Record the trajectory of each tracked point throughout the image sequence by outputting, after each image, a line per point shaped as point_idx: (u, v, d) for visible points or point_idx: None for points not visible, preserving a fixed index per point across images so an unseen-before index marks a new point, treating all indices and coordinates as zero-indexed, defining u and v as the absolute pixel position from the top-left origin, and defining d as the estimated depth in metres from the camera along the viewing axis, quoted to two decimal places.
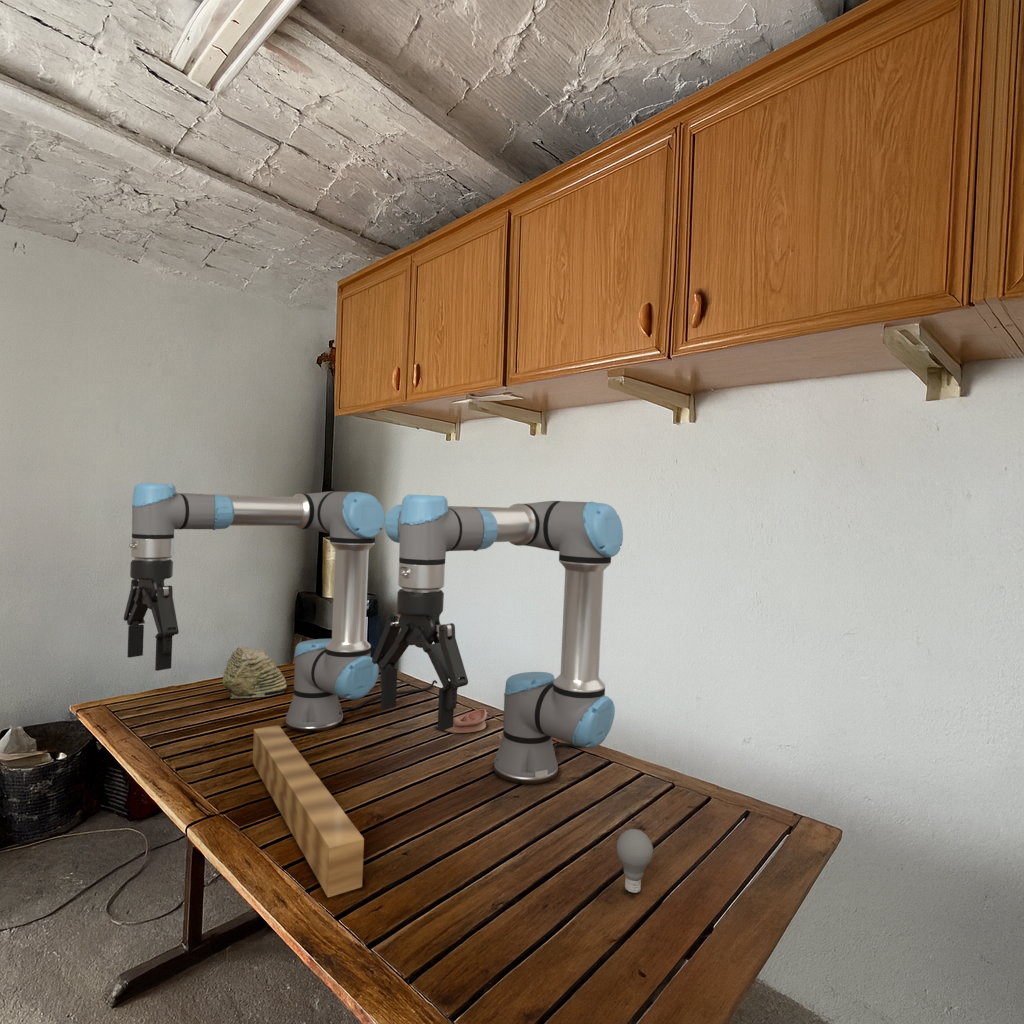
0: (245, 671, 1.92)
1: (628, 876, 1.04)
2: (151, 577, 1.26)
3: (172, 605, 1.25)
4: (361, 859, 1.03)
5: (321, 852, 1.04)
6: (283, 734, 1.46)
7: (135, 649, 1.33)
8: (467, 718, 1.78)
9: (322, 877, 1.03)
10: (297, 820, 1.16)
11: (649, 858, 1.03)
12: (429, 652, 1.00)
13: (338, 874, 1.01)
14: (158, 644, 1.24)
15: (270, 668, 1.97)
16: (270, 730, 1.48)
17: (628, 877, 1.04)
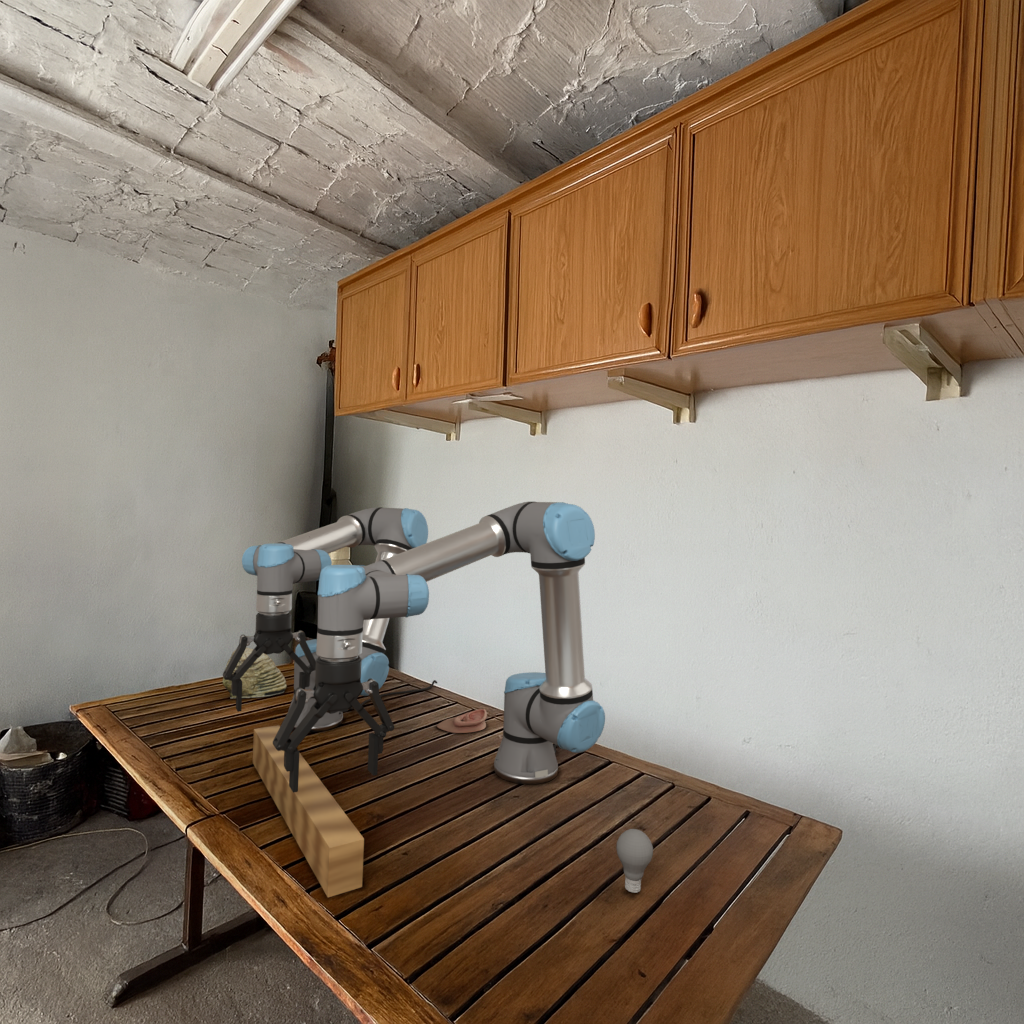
0: None
1: (628, 876, 1.04)
2: (290, 626, 1.44)
3: None
4: (361, 859, 1.03)
5: (321, 852, 1.04)
6: None
7: None
8: (467, 718, 1.78)
9: (322, 877, 1.03)
10: (297, 820, 1.16)
11: (649, 858, 1.03)
12: (361, 710, 1.09)
13: (338, 874, 1.01)
14: (305, 680, 1.46)
15: (270, 668, 1.97)
16: (270, 730, 1.48)
17: (628, 877, 1.04)
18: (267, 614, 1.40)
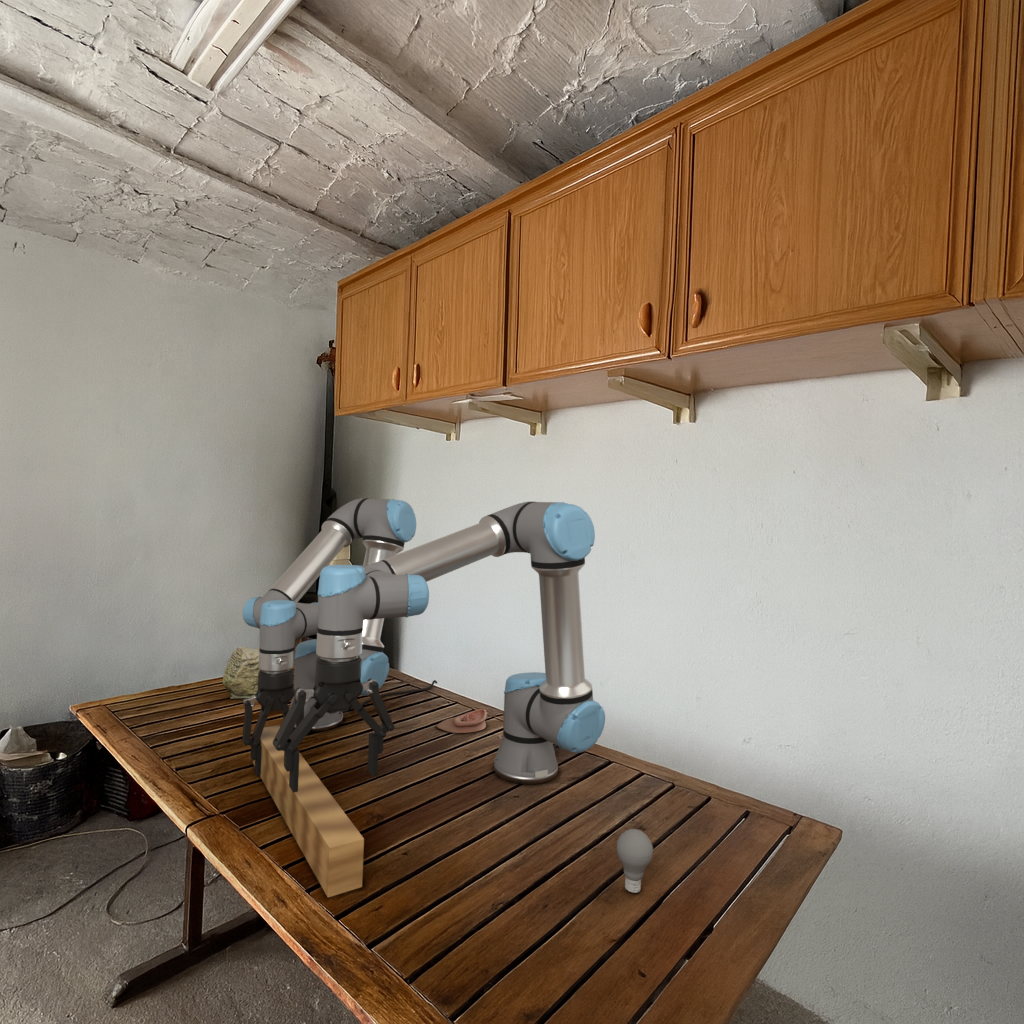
0: (245, 671, 1.92)
1: (628, 876, 1.04)
2: (292, 683, 1.45)
3: None
4: (361, 859, 1.03)
5: (321, 852, 1.04)
6: None
7: None
8: (467, 718, 1.78)
9: (322, 877, 1.03)
10: (297, 820, 1.16)
11: (649, 858, 1.03)
12: (361, 710, 1.09)
13: (338, 874, 1.01)
14: None
15: None
16: (270, 730, 1.48)
17: (628, 877, 1.04)
18: (270, 672, 1.41)
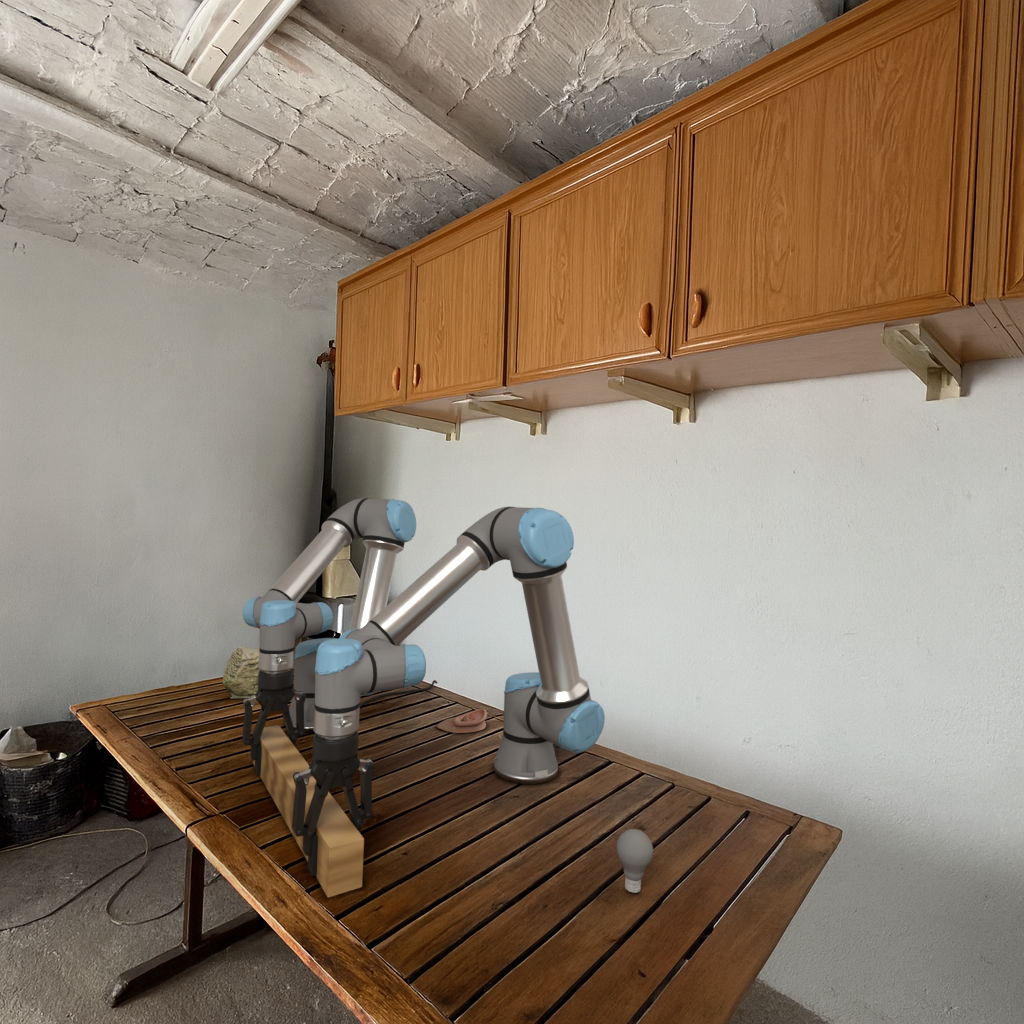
0: (245, 671, 1.92)
1: (628, 876, 1.04)
2: (292, 683, 1.45)
3: None
4: (361, 859, 1.03)
5: (321, 852, 1.04)
6: (283, 734, 1.46)
7: None
8: (467, 718, 1.78)
9: (322, 877, 1.03)
10: None
11: (649, 858, 1.03)
12: (350, 791, 1.08)
13: (338, 874, 1.01)
14: None
15: None
16: (270, 730, 1.48)
17: (628, 877, 1.04)
18: (270, 672, 1.41)
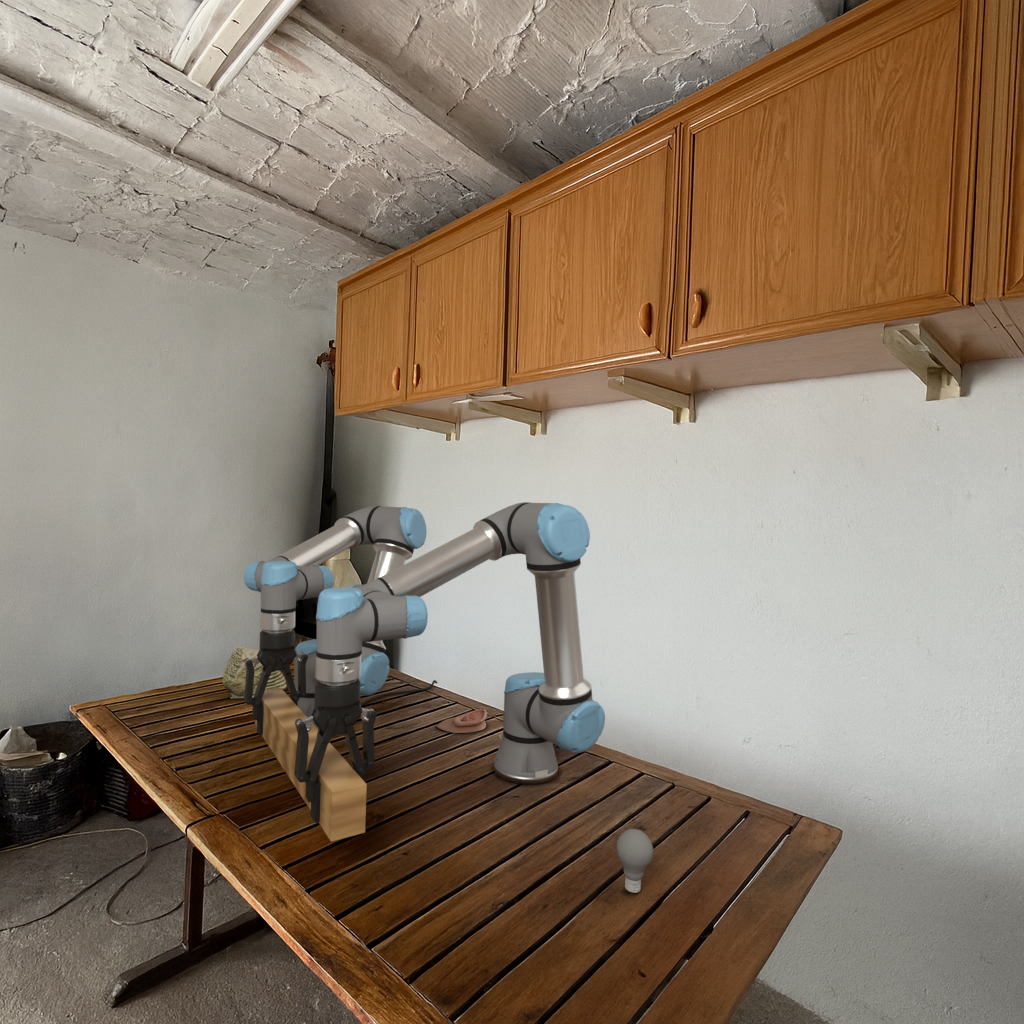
0: (245, 671, 1.92)
1: (628, 876, 1.04)
2: (294, 644, 1.44)
3: None
4: (364, 804, 1.03)
5: (323, 798, 1.04)
6: (285, 695, 1.46)
7: None
8: (467, 718, 1.78)
9: (325, 822, 1.03)
10: None
11: (649, 858, 1.03)
12: (352, 738, 1.08)
13: (341, 818, 1.01)
14: None
15: None
16: (272, 691, 1.48)
17: (628, 877, 1.04)
18: (271, 632, 1.41)
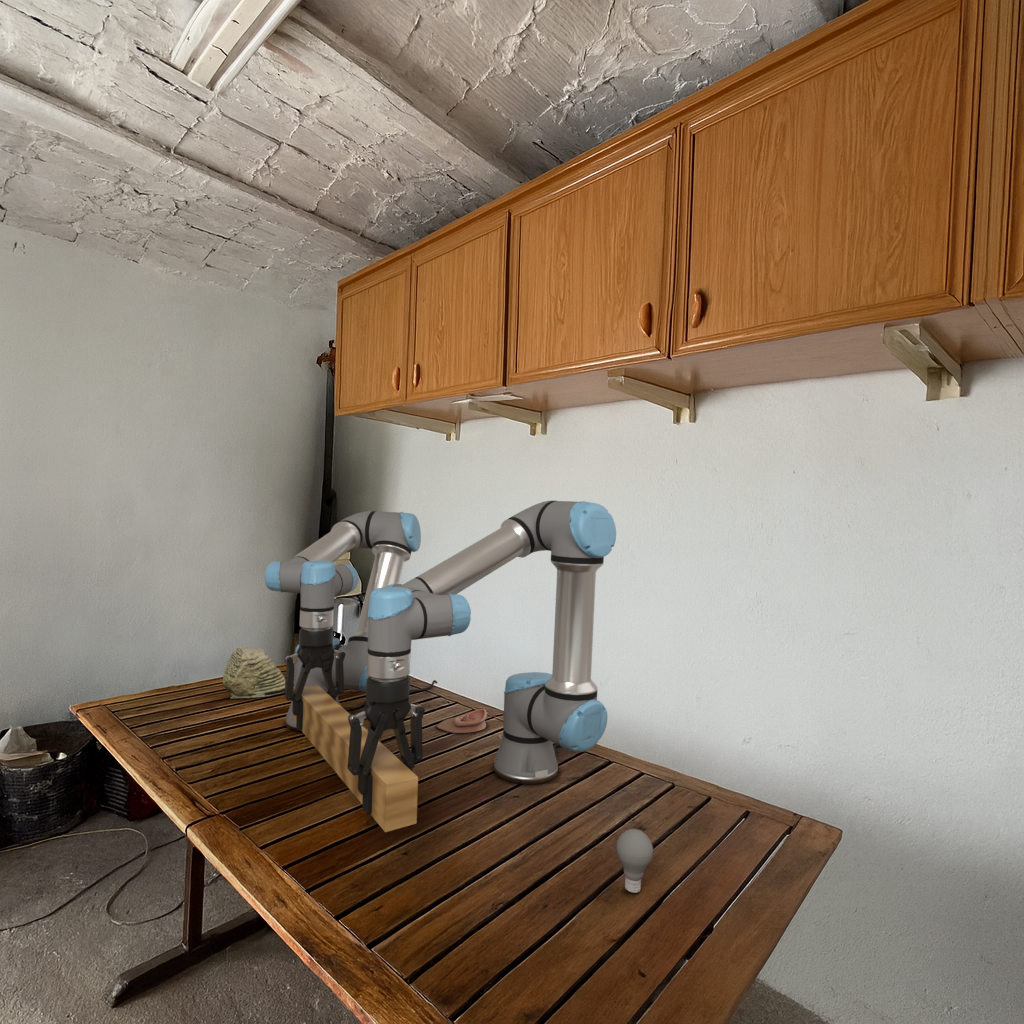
0: (245, 671, 1.92)
1: (628, 876, 1.04)
2: (332, 641, 1.48)
3: None
4: (415, 796, 1.07)
5: (376, 791, 1.08)
6: (323, 691, 1.50)
7: None
8: (467, 718, 1.78)
9: (378, 814, 1.07)
10: (347, 765, 1.20)
11: (649, 858, 1.03)
12: (402, 733, 1.12)
13: (394, 810, 1.05)
14: None
15: (270, 668, 1.97)
16: (310, 688, 1.52)
17: (628, 877, 1.04)
18: (311, 630, 1.44)
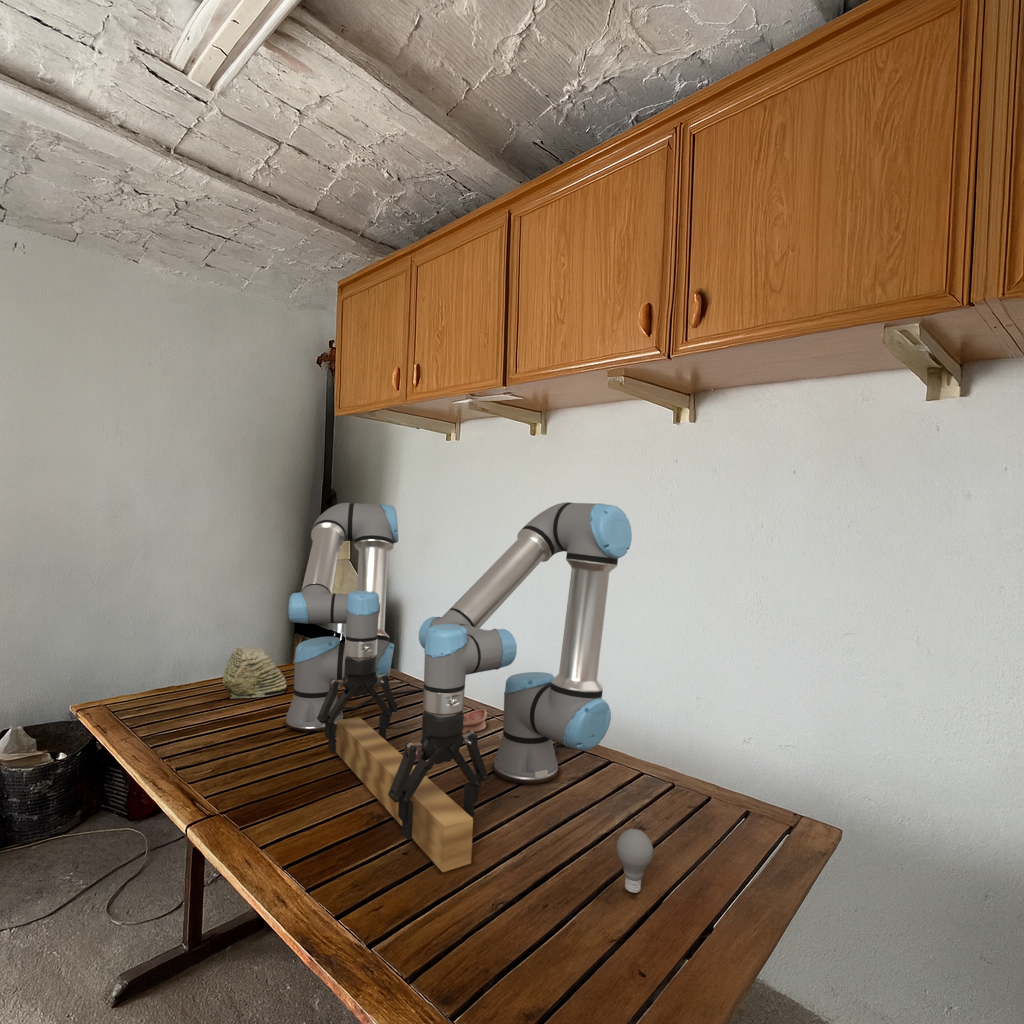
0: (245, 671, 1.92)
1: (628, 876, 1.04)
2: None
3: None
4: (470, 837, 1.11)
5: (432, 831, 1.12)
6: (366, 725, 1.54)
7: None
8: (467, 718, 1.78)
9: (434, 854, 1.11)
10: None
11: (649, 858, 1.03)
12: (461, 761, 1.17)
13: (451, 851, 1.09)
14: (386, 721, 1.55)
15: (270, 668, 1.97)
16: (353, 721, 1.57)
17: (628, 877, 1.04)
18: (356, 659, 1.49)
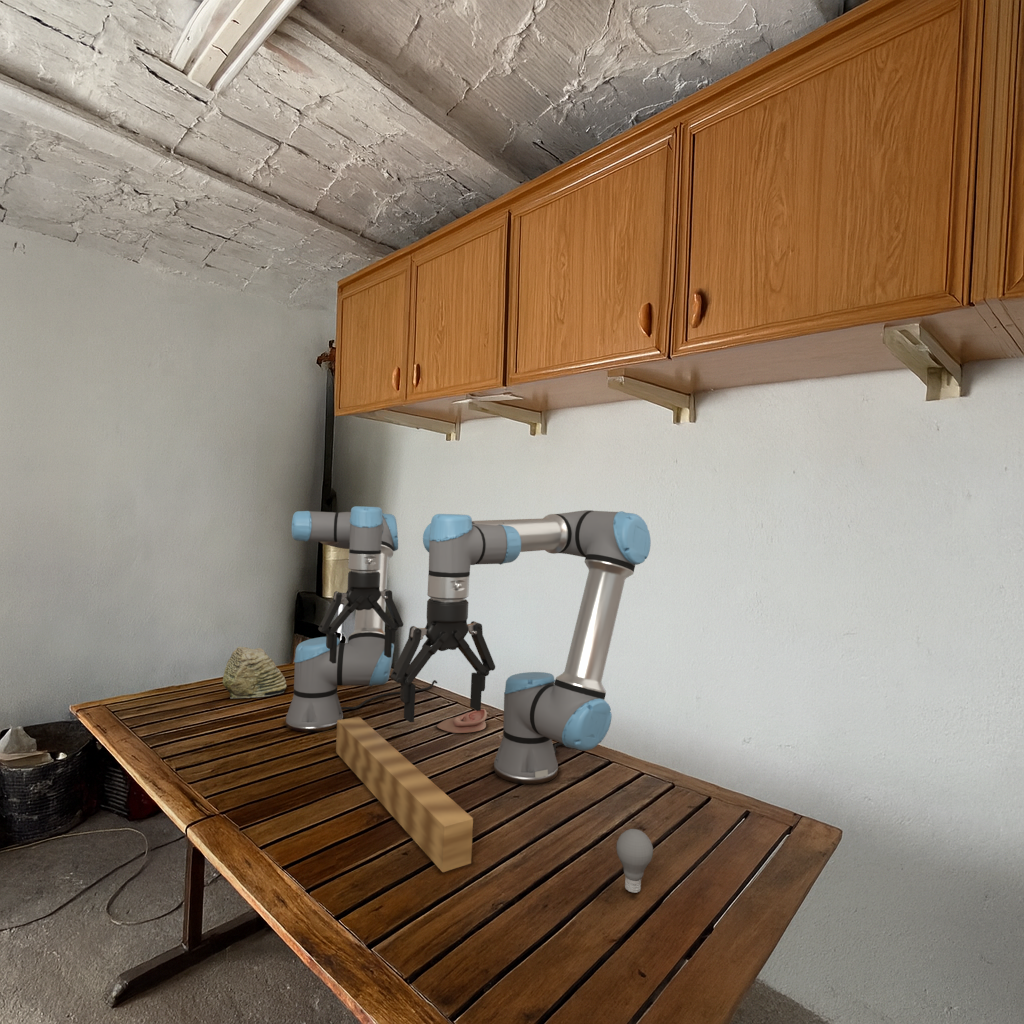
0: (245, 671, 1.92)
1: (628, 876, 1.04)
2: (379, 584, 1.52)
3: None
4: (470, 837, 1.11)
5: (432, 831, 1.12)
6: (366, 725, 1.54)
7: None
8: (467, 718, 1.78)
9: (434, 854, 1.11)
10: (399, 803, 1.24)
11: (649, 858, 1.03)
12: (467, 649, 1.17)
13: (451, 851, 1.09)
14: (391, 636, 1.55)
15: (270, 668, 1.97)
16: (353, 721, 1.57)
17: (628, 877, 1.04)
18: (360, 572, 1.48)
